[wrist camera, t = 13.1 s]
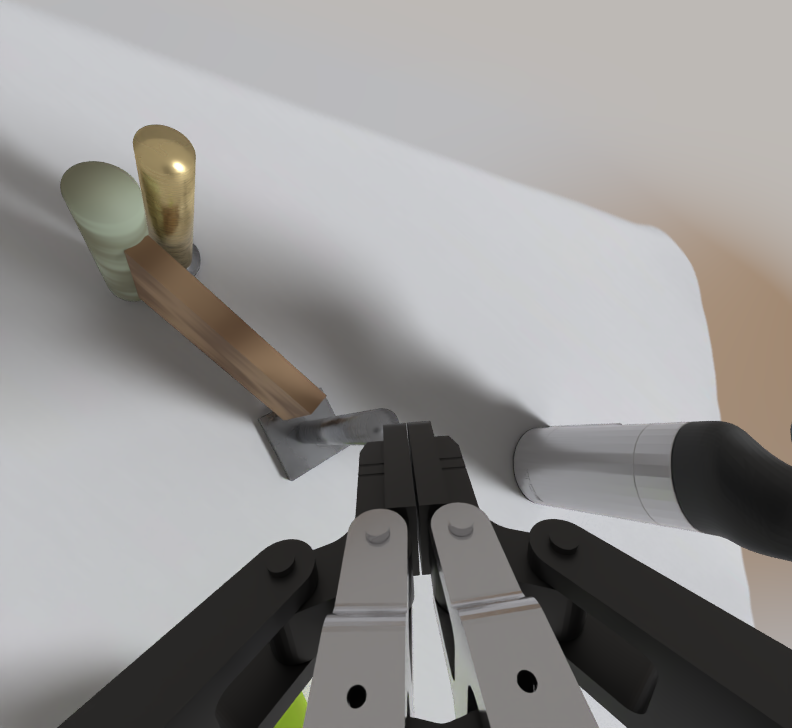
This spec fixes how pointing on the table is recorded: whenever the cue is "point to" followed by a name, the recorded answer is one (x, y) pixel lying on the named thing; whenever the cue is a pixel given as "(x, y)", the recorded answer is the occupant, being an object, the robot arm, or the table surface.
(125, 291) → the gate
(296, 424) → the hinge post
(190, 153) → the post
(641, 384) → the table surface
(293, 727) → the soap dispenser
